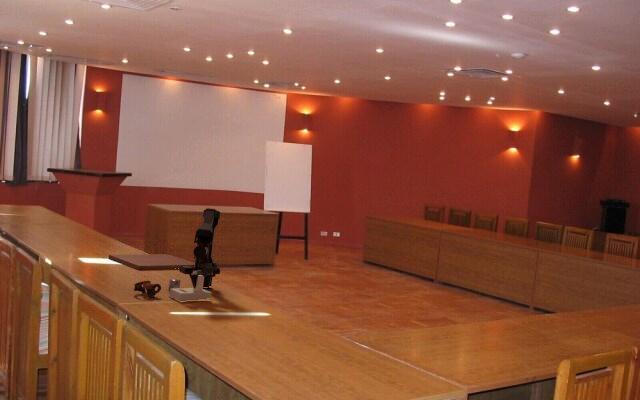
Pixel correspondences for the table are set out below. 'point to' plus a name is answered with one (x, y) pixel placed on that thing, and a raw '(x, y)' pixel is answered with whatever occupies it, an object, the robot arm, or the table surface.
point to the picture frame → (151, 261)
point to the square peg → (199, 284)
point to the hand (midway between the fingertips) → (197, 288)
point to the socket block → (188, 294)
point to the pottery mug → (147, 288)
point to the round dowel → (174, 284)
